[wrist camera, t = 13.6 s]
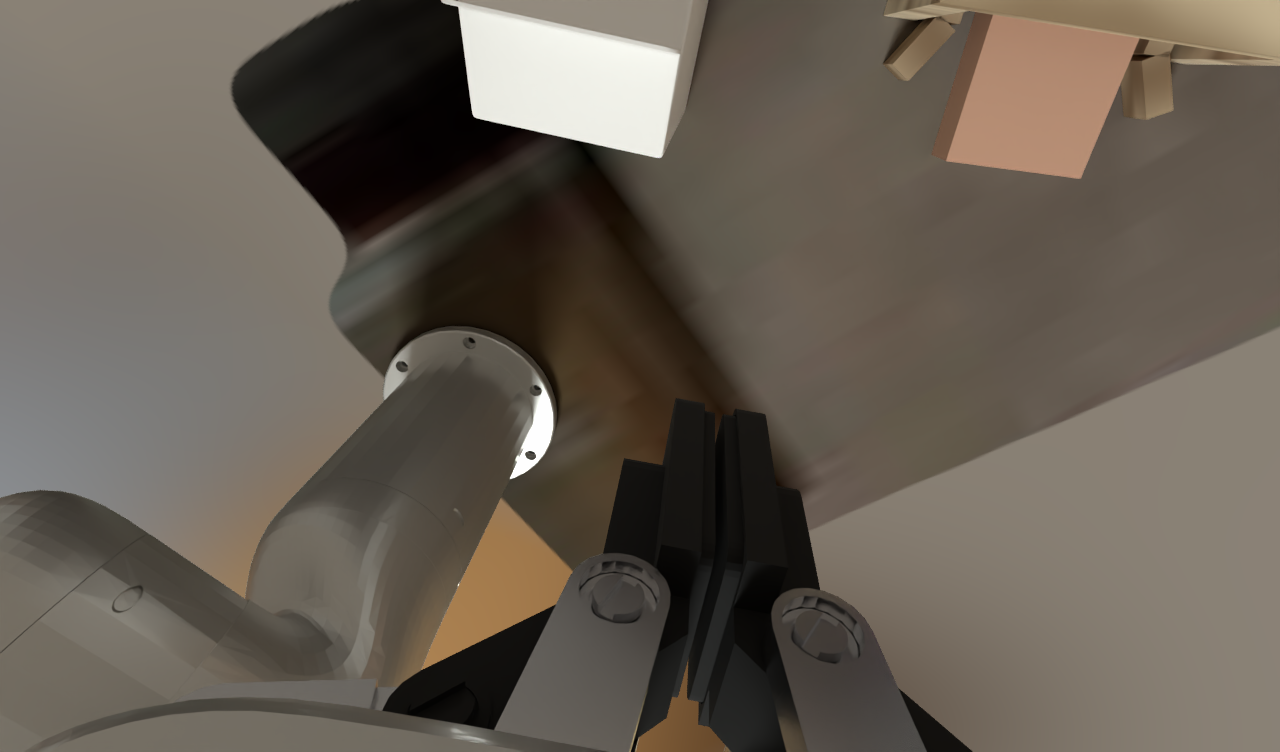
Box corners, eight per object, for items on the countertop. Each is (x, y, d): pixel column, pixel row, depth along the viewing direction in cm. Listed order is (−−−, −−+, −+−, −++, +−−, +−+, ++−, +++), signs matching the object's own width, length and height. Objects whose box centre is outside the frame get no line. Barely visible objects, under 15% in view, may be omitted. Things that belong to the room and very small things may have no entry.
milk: (600, -33, 33) (437, -168, 14) (712, -8, 33) (710, -110, 14) (582, 91, 36) (426, 127, 16) (686, 114, 36) (653, 177, 16)
